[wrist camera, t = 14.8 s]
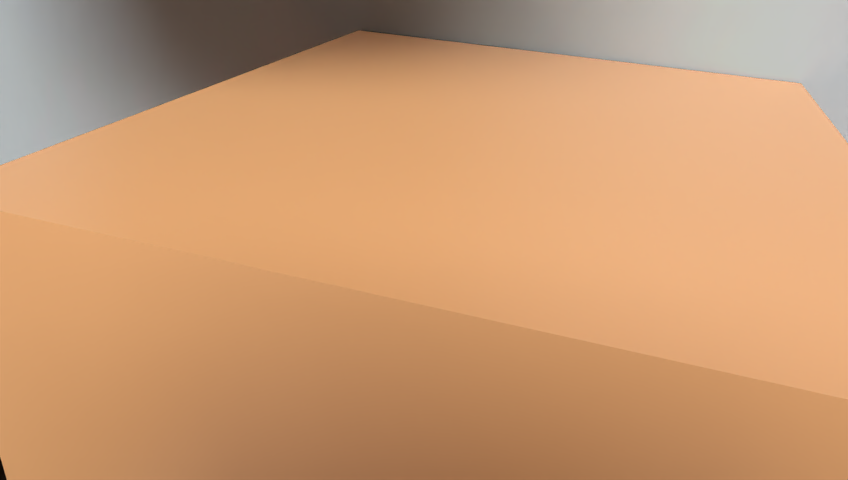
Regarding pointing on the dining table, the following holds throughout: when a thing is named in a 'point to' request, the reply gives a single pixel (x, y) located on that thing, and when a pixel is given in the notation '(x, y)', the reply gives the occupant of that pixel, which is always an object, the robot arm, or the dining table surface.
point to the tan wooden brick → (433, 277)
